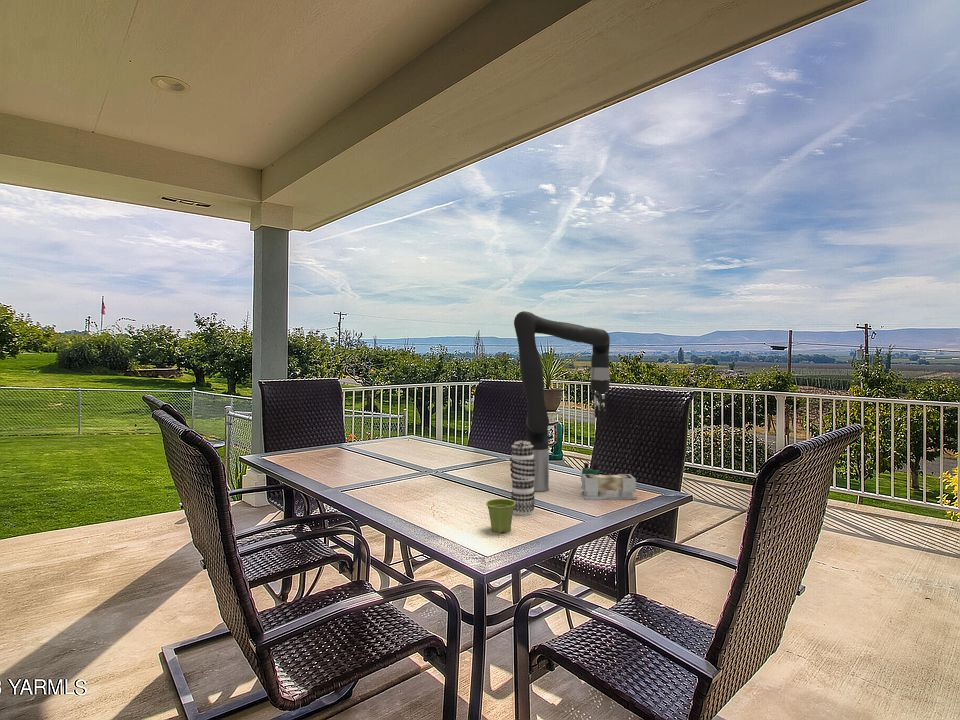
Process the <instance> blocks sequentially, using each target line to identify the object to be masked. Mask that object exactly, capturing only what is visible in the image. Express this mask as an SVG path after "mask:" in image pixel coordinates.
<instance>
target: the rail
mask: <svg viewBox="0 0 960 720" xmlns="http://www.w3.org/2000/svg"><path fill="white" fill-rule="evenodd" d="M588 478H598V491H618V490H622V478H629V477H628V476H626V475H618V474H599V475H588Z"/></svg>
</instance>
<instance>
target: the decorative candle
mask: <svg viewBox="0 0 960 720" xmlns="http://www.w3.org/2000/svg"><path fill="white" fill-rule="evenodd" d="M509 461H510V462H511V463H510V464H509V466H510V472H511V473H510V479H511V481H512V482H511V483H512V484H511V492H510V495H511V496H510V499H511V500H513V501H515V503H516V504H515V506H514V509H513V514H514V515H520V516H521V515H522V516H527V515H532V514H535V508H536V506H535V504H536V501H535V500H534V499H535V492H536V491H534V487H533V480H534V477H533V476H535V474H534V473H533V472H534V471H535V469H533V467H534V466H535V464H534V463H533V462H535V459H533V445H532V444H531V443H530V442H529V441H526V440H516V441H514V443H513V444H511V457H510V458H509Z"/></svg>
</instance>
